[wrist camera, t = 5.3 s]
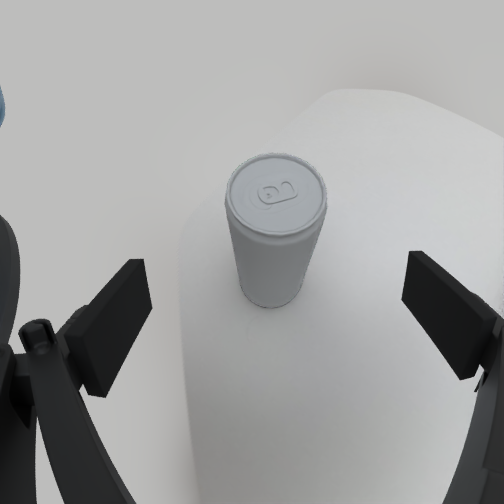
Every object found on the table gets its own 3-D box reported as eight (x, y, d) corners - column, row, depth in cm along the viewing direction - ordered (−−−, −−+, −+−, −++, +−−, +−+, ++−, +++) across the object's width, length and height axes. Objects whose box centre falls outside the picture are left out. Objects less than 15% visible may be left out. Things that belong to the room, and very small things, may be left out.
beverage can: (232, 262, 26) (211, 165, 15) (288, 244, 26) (304, 141, 15) (251, 318, 24) (241, 252, 13) (310, 297, 24) (348, 219, 13)
